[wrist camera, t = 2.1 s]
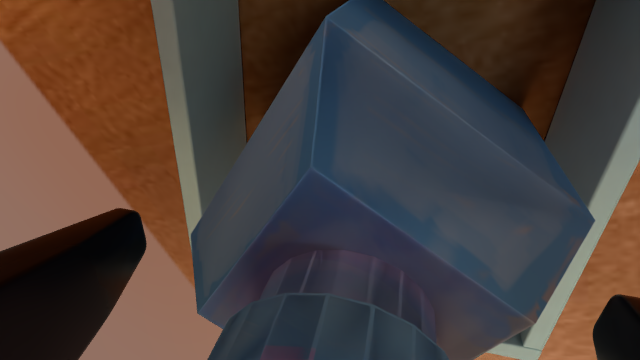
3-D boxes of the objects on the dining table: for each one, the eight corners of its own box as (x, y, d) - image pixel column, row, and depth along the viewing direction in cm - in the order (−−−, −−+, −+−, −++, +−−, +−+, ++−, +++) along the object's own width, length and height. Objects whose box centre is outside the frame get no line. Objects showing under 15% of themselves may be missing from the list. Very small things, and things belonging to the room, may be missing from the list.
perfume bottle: (367, -13, 12) (54, 200, 2) (522, 109, 13) (944, 754, 2) (270, 136, 15) (-38, 516, 5) (398, 225, 16) (360, 714, 6)
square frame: (239, 228, 18) (197, 293, 14) (215, -80, 12) (134, -92, 8) (511, 275, 16) (536, 363, 12) (644, -64, 10) (760, -71, 7)
